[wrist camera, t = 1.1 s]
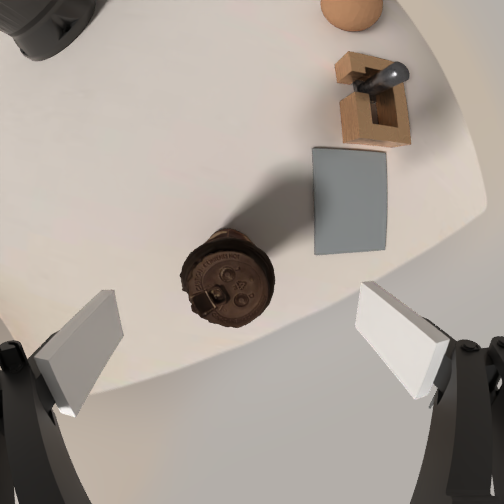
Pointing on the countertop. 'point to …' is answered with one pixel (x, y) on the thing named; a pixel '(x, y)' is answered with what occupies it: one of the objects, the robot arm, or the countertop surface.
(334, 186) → the mat
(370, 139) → the c link
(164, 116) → the countertop surface
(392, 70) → the post stand
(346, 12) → the egg
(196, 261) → the coffee cup
